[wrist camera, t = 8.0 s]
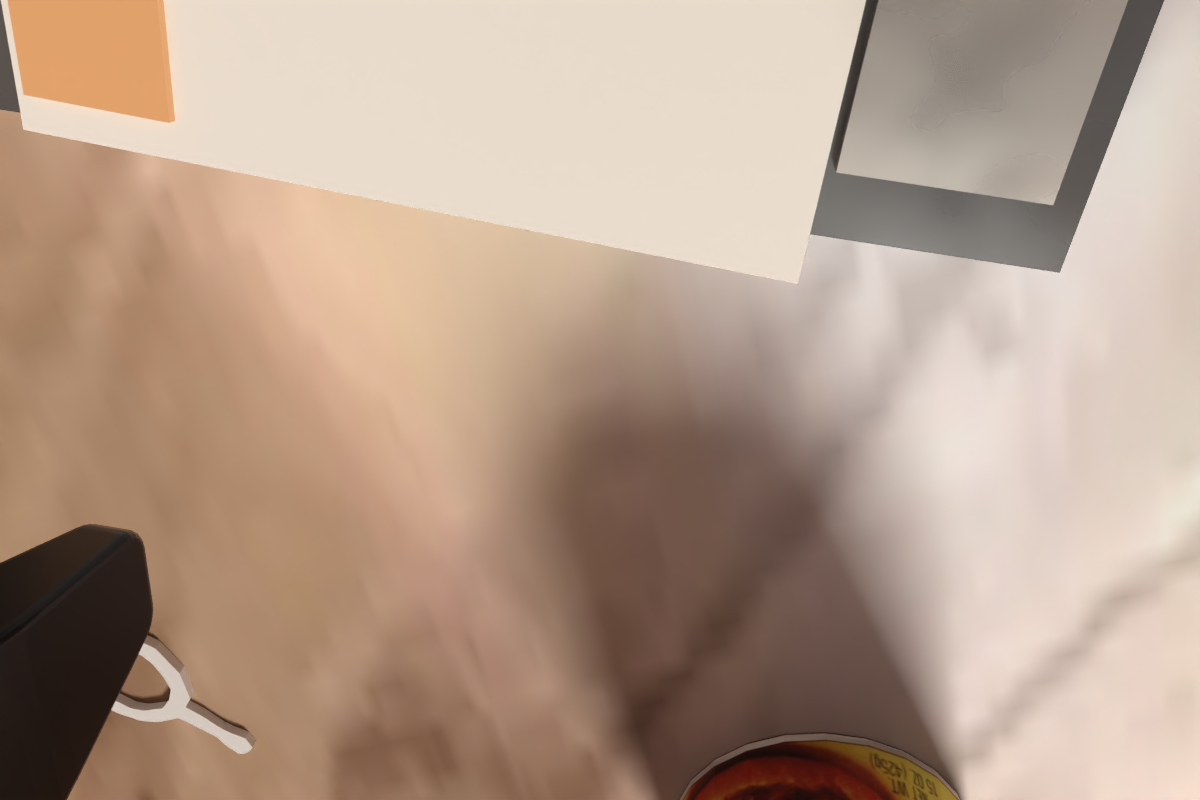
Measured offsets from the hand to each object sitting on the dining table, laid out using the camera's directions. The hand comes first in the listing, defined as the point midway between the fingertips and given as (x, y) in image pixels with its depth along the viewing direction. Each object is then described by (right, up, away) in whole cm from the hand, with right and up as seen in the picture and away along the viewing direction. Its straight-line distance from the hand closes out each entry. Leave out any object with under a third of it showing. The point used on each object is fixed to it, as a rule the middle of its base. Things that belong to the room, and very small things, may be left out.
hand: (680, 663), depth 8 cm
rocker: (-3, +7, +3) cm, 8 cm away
